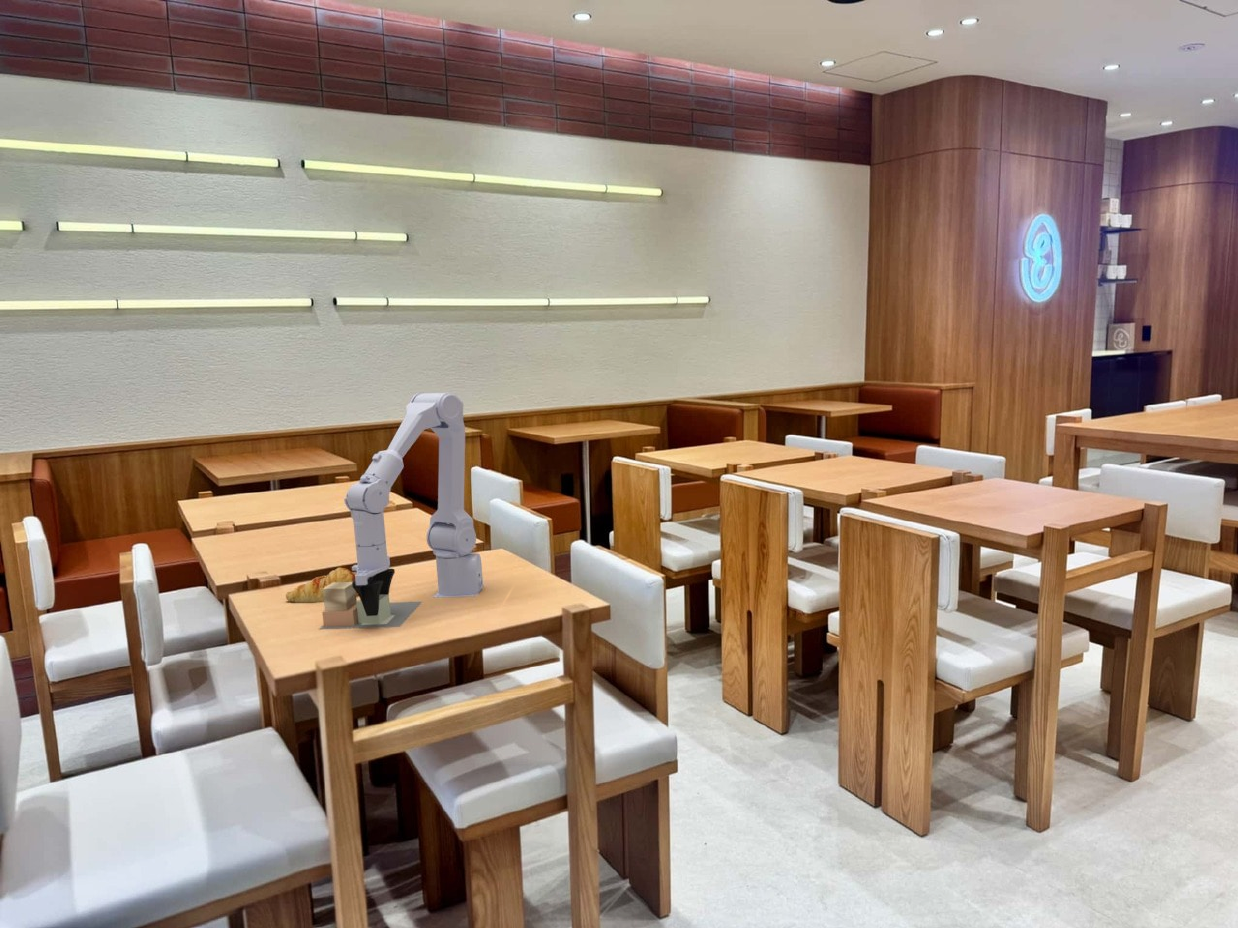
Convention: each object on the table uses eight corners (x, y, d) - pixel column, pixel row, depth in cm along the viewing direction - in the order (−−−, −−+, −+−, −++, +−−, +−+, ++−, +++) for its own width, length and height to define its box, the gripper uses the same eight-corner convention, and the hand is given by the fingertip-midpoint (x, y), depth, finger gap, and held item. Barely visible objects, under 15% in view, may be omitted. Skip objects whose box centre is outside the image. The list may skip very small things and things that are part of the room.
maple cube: (356, 603, 167) (354, 581, 167) (346, 610, 163) (344, 588, 162) (335, 603, 168) (333, 582, 167) (325, 611, 163) (322, 588, 163)
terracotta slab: (364, 615, 169) (363, 601, 168) (354, 625, 163) (352, 610, 163) (335, 616, 169) (334, 602, 169) (323, 626, 163) (322, 611, 163)
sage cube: (370, 615, 169) (368, 594, 168) (390, 616, 168) (388, 594, 167) (358, 623, 164) (356, 601, 164) (379, 623, 163) (377, 601, 163)
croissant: (288, 623, 179) (284, 596, 175) (285, 592, 187) (281, 565, 183) (389, 606, 187) (388, 579, 182) (383, 576, 194) (381, 550, 190)
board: (422, 603, 177) (422, 601, 177) (400, 629, 161) (399, 626, 161) (348, 606, 178) (348, 603, 178) (318, 631, 162) (318, 629, 162)
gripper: (363, 535, 171) (369, 600, 173) (336, 553, 157) (343, 623, 158) (397, 534, 171) (403, 599, 173) (373, 551, 156) (380, 621, 158)
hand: (377, 610), depth 165 cm, fingers closed on sage cube, 5 cm apart
